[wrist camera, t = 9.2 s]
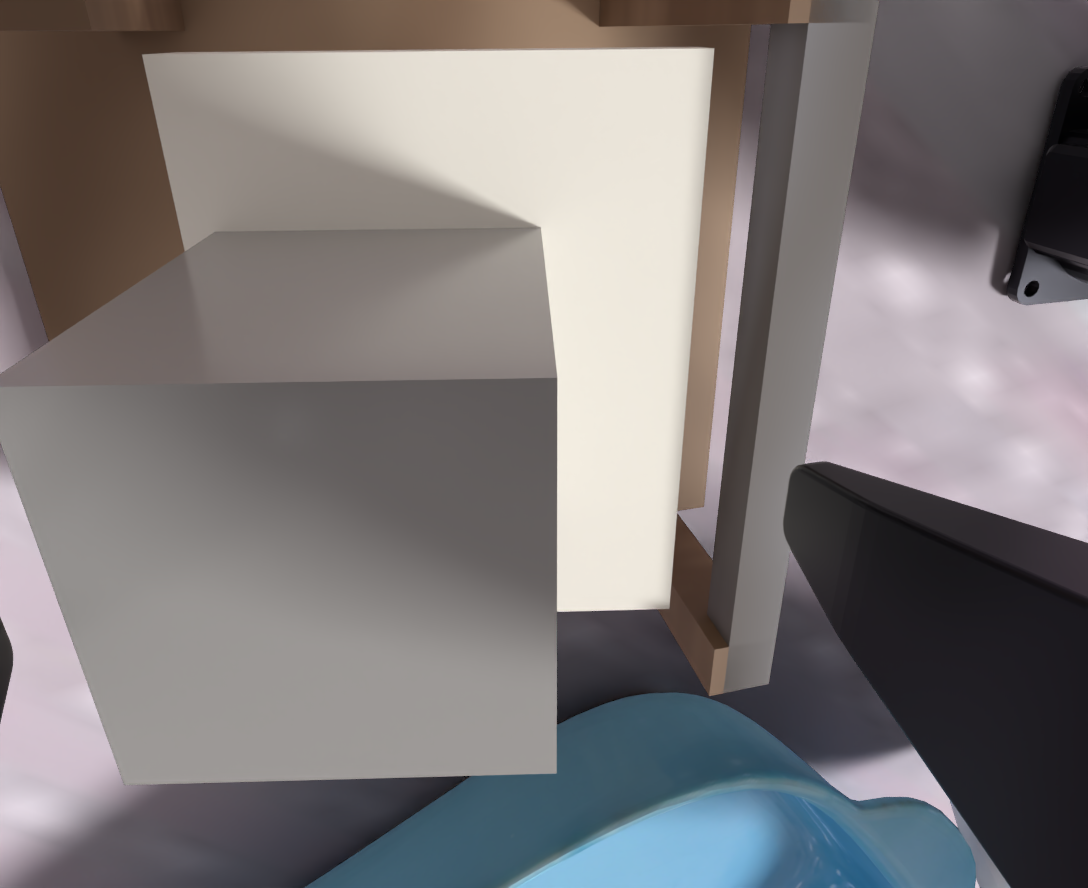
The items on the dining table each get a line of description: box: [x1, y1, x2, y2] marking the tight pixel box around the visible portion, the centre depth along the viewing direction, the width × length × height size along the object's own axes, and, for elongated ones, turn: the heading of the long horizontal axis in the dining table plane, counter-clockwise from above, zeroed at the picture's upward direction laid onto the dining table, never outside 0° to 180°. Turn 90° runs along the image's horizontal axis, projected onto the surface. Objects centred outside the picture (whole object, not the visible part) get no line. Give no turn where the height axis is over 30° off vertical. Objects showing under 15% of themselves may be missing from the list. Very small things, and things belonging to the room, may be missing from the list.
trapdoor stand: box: [0, 0, 880, 696], centre depth 16 cm, size 16×15×9 cm
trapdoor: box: [142, 47, 714, 612], centre depth 14 cm, size 8×10×1 cm
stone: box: [0, 228, 557, 785], centre depth 11 cm, size 5×5×6 cm
